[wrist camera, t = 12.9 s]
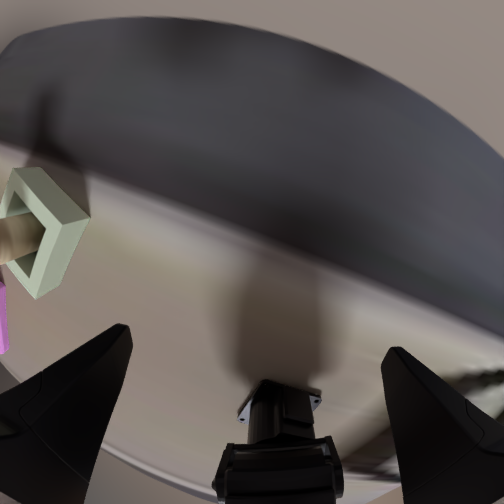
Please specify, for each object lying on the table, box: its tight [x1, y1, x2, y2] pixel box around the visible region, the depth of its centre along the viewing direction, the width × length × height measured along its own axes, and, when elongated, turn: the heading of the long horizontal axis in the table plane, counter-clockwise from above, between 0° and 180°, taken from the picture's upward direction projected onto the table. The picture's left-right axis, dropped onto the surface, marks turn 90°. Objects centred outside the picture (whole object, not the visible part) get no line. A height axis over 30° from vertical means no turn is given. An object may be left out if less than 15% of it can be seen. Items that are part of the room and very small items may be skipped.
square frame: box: [0, 167, 90, 300], centre depth 19 cm, size 8×8×4 cm
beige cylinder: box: [0, 212, 46, 265], centre depth 15 cm, size 4×4×12 cm
